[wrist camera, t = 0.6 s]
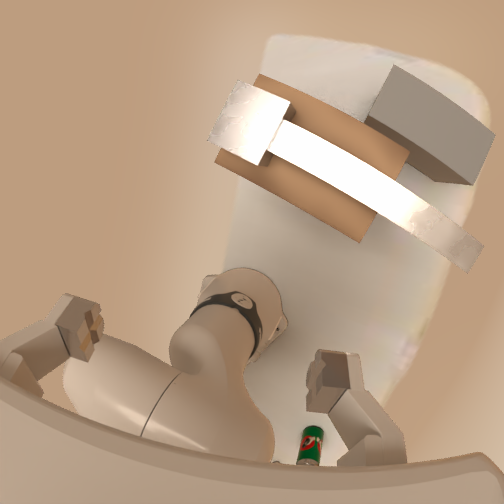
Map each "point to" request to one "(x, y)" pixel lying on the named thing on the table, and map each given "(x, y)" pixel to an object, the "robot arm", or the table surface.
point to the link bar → (333, 168)
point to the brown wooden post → (307, 184)
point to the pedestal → (430, 129)
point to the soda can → (310, 447)
